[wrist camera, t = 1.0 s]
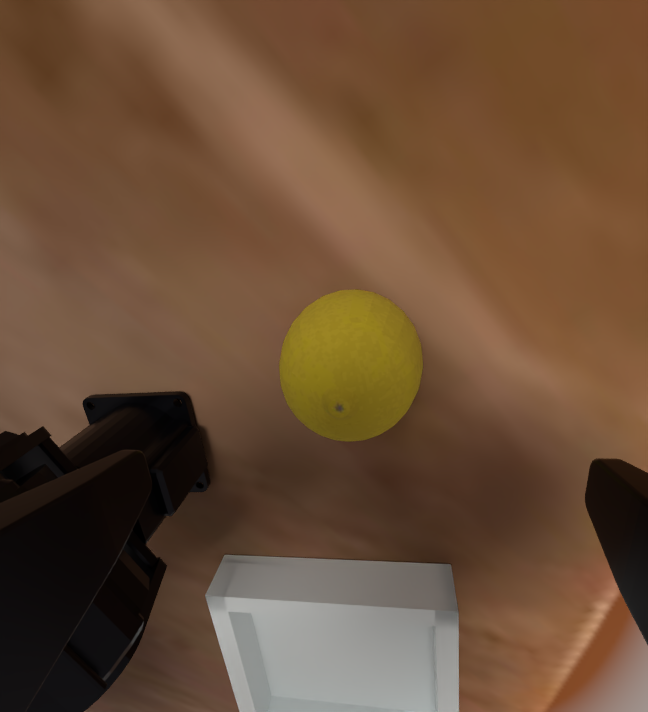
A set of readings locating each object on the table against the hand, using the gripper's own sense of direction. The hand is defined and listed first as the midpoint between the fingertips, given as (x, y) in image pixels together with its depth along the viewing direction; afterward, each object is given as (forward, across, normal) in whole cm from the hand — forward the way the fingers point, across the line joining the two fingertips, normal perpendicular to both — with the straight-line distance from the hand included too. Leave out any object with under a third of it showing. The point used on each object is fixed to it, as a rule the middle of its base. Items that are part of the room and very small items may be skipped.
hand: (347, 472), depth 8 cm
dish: (+12, +3, +23) cm, 26 cm away
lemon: (+12, +1, +1) cm, 12 cm away
